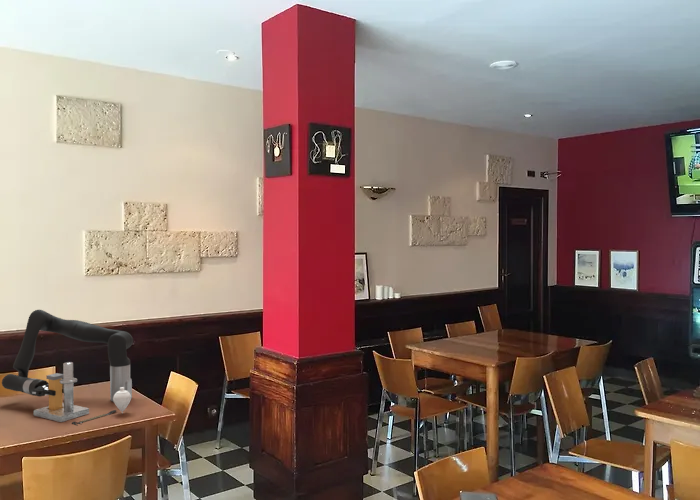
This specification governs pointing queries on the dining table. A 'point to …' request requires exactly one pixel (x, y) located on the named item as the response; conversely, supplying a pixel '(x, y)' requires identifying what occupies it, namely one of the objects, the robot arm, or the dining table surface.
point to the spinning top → (122, 399)
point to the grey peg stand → (68, 406)
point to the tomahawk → (94, 417)
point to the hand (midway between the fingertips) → (59, 392)
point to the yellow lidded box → (55, 385)
